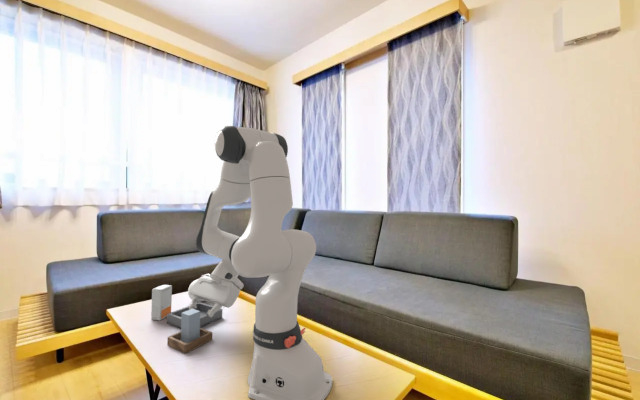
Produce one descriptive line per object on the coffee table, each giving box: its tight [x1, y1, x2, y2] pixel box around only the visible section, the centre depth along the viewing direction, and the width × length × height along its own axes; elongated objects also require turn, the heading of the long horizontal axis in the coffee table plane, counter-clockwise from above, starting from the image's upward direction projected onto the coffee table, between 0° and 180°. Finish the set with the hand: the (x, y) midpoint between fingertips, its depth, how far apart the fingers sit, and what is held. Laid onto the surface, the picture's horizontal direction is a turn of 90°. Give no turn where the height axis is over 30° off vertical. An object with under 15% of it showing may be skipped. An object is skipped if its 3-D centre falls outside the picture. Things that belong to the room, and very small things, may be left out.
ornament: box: [187, 274, 205, 303], centre depth 125 cm, size 10×10×12 cm
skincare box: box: [150, 284, 173, 321], centre depth 107 cm, size 6×4×12 cm
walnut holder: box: [167, 327, 213, 354], centre depth 89 cm, size 10×10×2 cm
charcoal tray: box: [166, 302, 223, 330], centre depth 105 cm, size 14×14×4 cm
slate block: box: [180, 309, 200, 343], centre depth 89 cm, size 4×4×10 cm
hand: (199, 312), depth 92 cm, fingers open, 8 cm apart
